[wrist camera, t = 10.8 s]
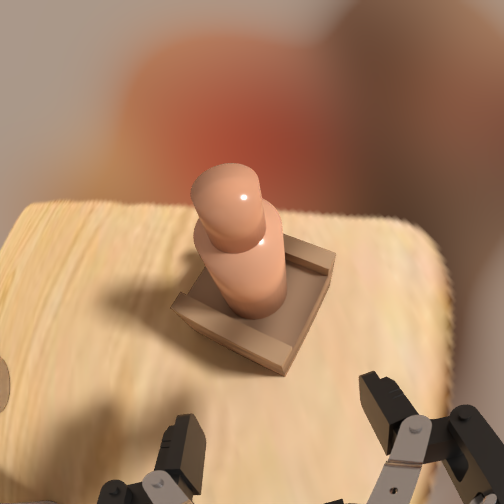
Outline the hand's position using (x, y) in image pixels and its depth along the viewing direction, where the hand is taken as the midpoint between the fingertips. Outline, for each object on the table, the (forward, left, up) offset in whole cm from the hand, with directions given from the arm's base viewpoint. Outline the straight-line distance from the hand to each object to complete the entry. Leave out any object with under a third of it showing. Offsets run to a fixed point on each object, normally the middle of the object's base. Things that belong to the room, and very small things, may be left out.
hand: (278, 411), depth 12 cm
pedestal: (-7, +8, -13) cm, 16 cm away
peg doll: (-7, +8, -8) cm, 13 cm away
